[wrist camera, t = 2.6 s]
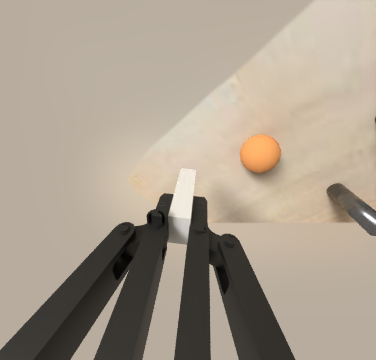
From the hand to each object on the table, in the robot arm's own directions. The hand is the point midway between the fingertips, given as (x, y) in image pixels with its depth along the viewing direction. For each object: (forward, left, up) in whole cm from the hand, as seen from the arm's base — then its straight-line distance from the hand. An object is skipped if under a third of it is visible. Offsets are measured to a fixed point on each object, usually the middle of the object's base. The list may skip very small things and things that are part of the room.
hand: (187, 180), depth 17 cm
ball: (-10, 0, -9) cm, 14 cm away
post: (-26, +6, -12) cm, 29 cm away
